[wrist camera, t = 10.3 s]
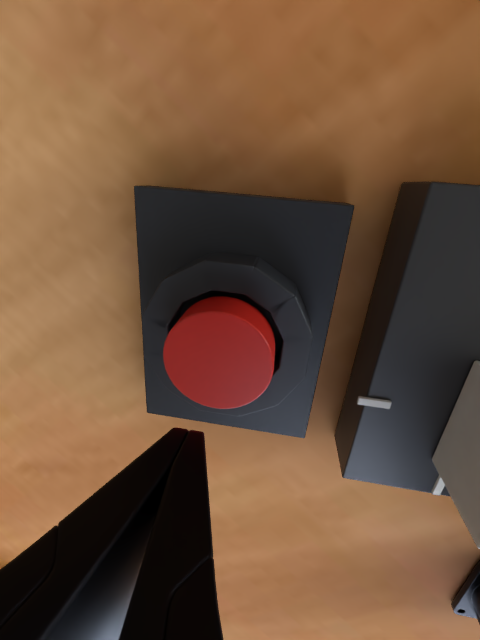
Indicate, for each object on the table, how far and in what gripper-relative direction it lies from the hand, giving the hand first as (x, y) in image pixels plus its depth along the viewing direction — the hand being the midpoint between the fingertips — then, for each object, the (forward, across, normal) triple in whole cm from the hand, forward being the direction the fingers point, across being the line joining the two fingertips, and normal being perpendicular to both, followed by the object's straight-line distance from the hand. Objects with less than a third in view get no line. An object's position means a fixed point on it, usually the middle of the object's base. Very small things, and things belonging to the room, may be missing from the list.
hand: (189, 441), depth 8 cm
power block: (+9, 0, 0) cm, 9 cm away
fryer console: (+9, -11, 0) cm, 14 cm away
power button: (+6, 0, 0) cm, 6 cm away
